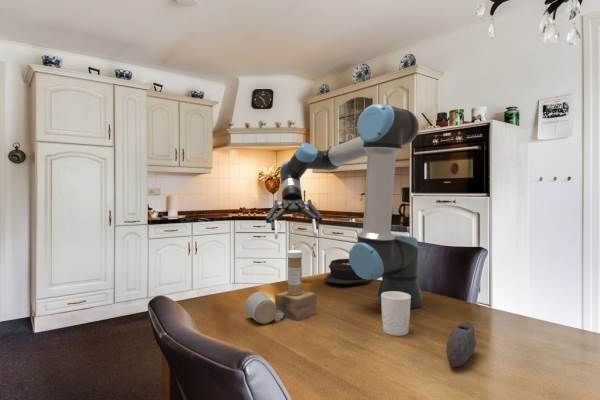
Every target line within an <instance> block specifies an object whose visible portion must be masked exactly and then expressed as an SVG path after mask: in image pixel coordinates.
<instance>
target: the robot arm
mask: <svg viewBox="0 0 600 400" xmlns="http://www.w3.org/2000/svg"><path fill="white" fill-rule="evenodd" d="M419 127H420V125H419V120H418V118H417V117H416V115H415V114H414V113H413V112H412V111H410V110H409V109H405V108H400V107H396V106H392V105H389V104H387V103H386V104H384V103H383V104H382V103H373V104H371V105H369V106H367V107H366V108H365V109H364V111H362V112H361V114H360V115H359V117H358V120H357V123H356V131H357V135H358V136H357V137H355V138H353V139H351V140H348V141H345V142H343V143H340V144H338V145H336V146H334V147H331V148H329V149H326V150H317V148H316V147H315V146H314V145H313V144H310V143H309V142H303V143H302V144H300V145H299V147H298V148H297V149H296V150H295V152H294V154H293V155H292V156H291V158H290V160H286V161H285V162H283V163H282V164H281V166H280V170H279V177H280V187H281V198H282V201H278V199H275V200H274V202H273V203H274V204H273V205H272V207H271V209H270V210H269V212H268V213H267V215H266V217H265V223H266V224H270V226H271V231H273V232H274V240H278V221H279V220H280V219H281V218H282V217H283V216H284V215H286V214H287V213H289V214H291V213H295V214H296V213H299V214H300V215H303V216H305V218H307V219H308V220H310V221H311V226H312V232H313V233H312V234H313V238H314V239H317V237H318V236H317V235H318V232H317V231H318V230H319V226H320V225H319V223H322V222H323V215H322V214H321V213H320V212H319V210H318V209H317V207H315V206H314V204H313V203H312V200H311V199H308V200H307V201H304V200H303V196H302V186H301V185H302V184H301V178H302V176H303V175H305V173H306V171H307V170H322V171H323V170H325V171H335V170H338V168H339V167H340V166H341V165H344V164H347V163H349V162H352V161H353V162H354V161H356V160H358V159H361V158H364V157H367V160H366V161H367V162H366V163H367V164H366V177H365V191H364V194H365V195H364V208H363V220H362V221H363V224H362V230H361V231H360V232H358V234H357V239H356V240H357V243H355V244H353V245H352V247H351V248H350V250H349V252H348V259H349V261H350V265H351V267H352V269H353V270H354V271H355V273H356V274H357V275H358V276H359V277H361V278H363V279H367V280H368V281H369V280H378V279H381V283H380V285H379V288H378V290H377V295H376V302H377V303H378V304H379V305H381V294H382V293H383V292H389V291H396V292H403V293H407V294H409V295H410V296H411V303H410V309H417V308H419V307H422V306H423V303H424V301H423V299H424V298H423V295H422V292H421V287H420V284H419V282H418V266H419V265H418V264H419V263H418V258H419V257H418V256H419V254H418V253H419V245H418V244H419V243H418V239H417V238H416V237H414V236H407V235H397V234H393V233H392V232H391V230H392V213H393V201H394V200H393V199H394V188H395V187H394V185H395V184H394V183H395V175H396V174H395V172H396V171H395V170H396V159H397V157H396V156H397V155H398V153H400V152H401V151H402V147H405V146H407V145H409V144H411V143H412V142H413V141H414V140H415V139H416V137H417V135H418V133H419V130H420V128H419ZM280 207H281V209H280V210H278V209H279V208H280ZM277 210H278V211H277Z"/></svg>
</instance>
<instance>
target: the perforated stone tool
mask: <svg viewBox="0 0 600 400" xmlns="http://www.w3.org/2000/svg"><path fill="white" fill-rule="evenodd" d="M475 333H476V332H475V328H474V325H473V324H472V323H470V322H467V321H461V322H459V323H458V324H457V325H455V327H453V328H452V330H451V332H450V334H449V336H448V338H447V341H446V347H445V349H446V351H445V352H446V358H447V361H448V363H449V365H450V367H452V368H457V367H460V366H463V365H464V364H465V363H466V362H467V361H468V360H469V358H470V357H471V356H472V355H473V353H474V351H475V349H476V346H477V345H476V344H477V340H476V337H475Z"/></svg>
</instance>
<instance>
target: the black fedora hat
mask: <svg viewBox="0 0 600 400" xmlns="http://www.w3.org/2000/svg"><path fill="white" fill-rule="evenodd" d="M328 268H329V269H330V273H329V274H327V275H326V277H324V279H323V280H324V281H325V282H328V283H330V284H331V283H332V284H338V285H358V284H361V283H364V282H367V281H369V280H367V279H363V278H361V277H359V276H358V275H357V274H356V273H355V271H354V270H353V269H352V267H351V265H350V261H349V258H338V259H332V260H331V261H330V264H329V265H328Z"/></svg>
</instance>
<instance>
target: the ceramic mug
mask: <svg viewBox="0 0 600 400" xmlns="http://www.w3.org/2000/svg"><path fill="white" fill-rule="evenodd" d="M245 310H246V313H247V314H248V315H249V316H250V317H251V318H252V319H253V320H254V321H255V322H257V323H258V324H263V325H265V324H267V325H268V324H270V323H271V322H272V321H273V320H274V319H275V318H276V319H279V320H282V319H283V318H284V317H283V316H284V313H282V312H281V311H279V310H277V308H276V305H275V301H273V300H272V299H271V298H270V297H269V296H268V295H267V294H265V293H264V292H261V291H256V292H253V293H251V294H250V295H249V296H247V299H246V301H245Z"/></svg>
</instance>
